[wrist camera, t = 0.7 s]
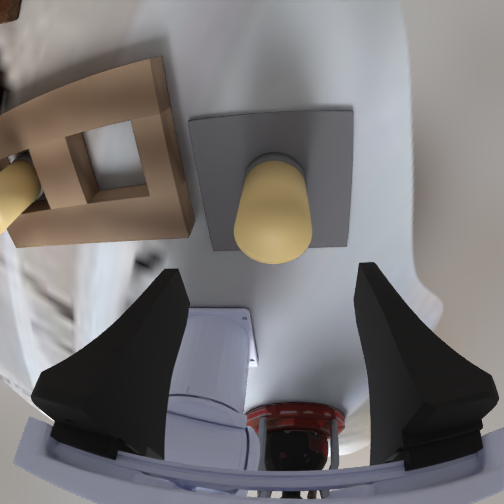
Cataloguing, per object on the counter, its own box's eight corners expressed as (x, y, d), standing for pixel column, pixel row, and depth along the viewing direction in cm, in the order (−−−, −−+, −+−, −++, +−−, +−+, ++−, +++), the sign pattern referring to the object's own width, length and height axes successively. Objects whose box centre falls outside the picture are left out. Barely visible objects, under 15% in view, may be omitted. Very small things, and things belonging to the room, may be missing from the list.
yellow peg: (306, 206, 21) (313, 264, 16) (247, 208, 22) (237, 266, 17) (305, 150, 19) (314, 195, 14) (240, 154, 19) (226, 200, 14)
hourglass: (361, 421, 44) (366, 560, 25) (283, 441, 52) (276, 560, 32) (308, 390, 37) (303, 577, 18) (221, 415, 45) (201, 561, 25)
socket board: (195, 221, 23) (188, 237, 21) (27, 235, 25) (16, 247, 24) (161, 56, 16) (149, 58, 14) (-16, 124, 18) (-31, 133, 16)
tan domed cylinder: (56, 190, 22) (14, 233, 17) (27, 196, 22) (-14, 236, 18) (41, 147, 19) (-8, 183, 15) (12, 157, 20) (-34, 192, 15)
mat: (346, 244, 23) (346, 246, 23) (214, 248, 24) (213, 251, 24) (352, 110, 17) (353, 111, 17) (188, 120, 18) (187, 121, 18)
